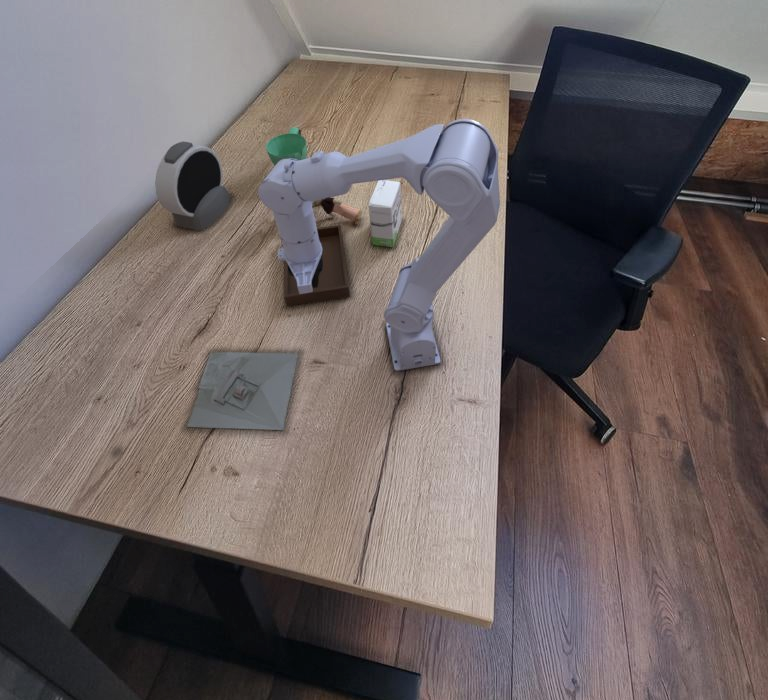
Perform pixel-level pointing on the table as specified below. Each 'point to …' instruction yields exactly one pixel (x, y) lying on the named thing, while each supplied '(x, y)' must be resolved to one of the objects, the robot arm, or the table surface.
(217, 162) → the alarm clock
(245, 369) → the grey green square plate
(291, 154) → the mug
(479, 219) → the robot arm
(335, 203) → the grandmother figurine
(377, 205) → the ink box
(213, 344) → the table surface
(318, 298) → the tray
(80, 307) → the table surface
